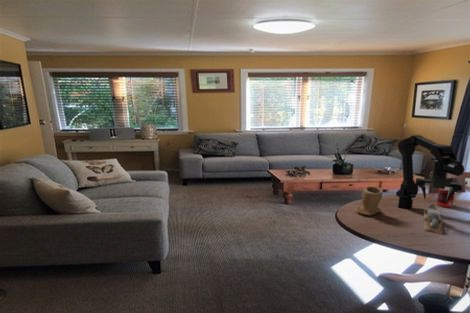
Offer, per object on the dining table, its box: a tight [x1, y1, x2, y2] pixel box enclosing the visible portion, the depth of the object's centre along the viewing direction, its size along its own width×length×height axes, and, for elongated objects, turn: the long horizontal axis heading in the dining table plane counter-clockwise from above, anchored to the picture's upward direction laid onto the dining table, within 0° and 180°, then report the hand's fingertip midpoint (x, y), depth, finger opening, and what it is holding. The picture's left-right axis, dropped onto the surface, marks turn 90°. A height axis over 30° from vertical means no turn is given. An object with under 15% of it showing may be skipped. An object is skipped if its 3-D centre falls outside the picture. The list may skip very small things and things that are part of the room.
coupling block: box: [427, 208, 441, 222], centre depth 144 cm, size 6×5×5 cm
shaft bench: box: [423, 204, 444, 235], centre depth 145 cm, size 8×27×5 cm, turn 148°
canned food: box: [436, 187, 456, 209], centre depth 166 cm, size 8×8×11 cm
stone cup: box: [355, 185, 383, 216], centre depth 156 cm, size 15×12×15 cm
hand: (435, 200), depth 143 cm, fingers open, 9 cm apart
